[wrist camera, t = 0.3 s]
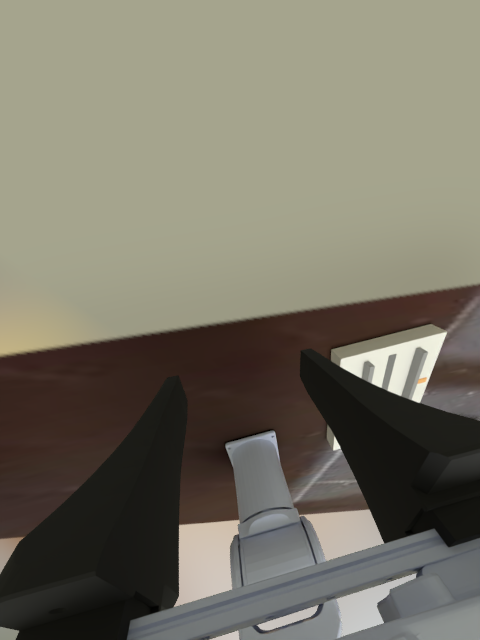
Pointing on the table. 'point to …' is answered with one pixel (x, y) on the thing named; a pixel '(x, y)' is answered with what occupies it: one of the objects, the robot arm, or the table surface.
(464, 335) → the table surface
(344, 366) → the console
